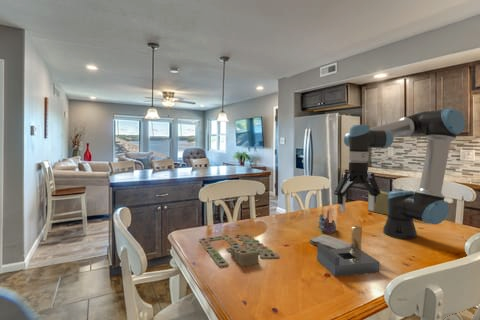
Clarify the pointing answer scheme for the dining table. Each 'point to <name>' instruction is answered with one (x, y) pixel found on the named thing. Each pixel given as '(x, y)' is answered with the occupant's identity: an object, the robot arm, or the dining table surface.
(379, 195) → the cheese
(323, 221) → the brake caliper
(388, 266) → the dining table surface
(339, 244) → the washcloth
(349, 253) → the jig
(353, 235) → the tan cylinder
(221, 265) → the pile of dominoes
